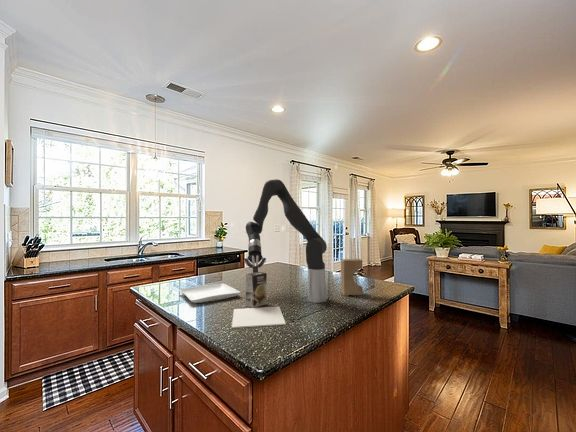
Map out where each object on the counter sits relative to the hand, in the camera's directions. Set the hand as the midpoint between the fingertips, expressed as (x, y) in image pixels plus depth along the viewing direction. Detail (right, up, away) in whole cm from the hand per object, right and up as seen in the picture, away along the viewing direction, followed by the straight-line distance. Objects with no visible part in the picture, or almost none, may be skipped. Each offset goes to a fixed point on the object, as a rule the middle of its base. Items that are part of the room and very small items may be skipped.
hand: (255, 273), depth 151 cm
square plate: (-27, -15, +6) cm, 32 cm away
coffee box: (+2, -14, -11) cm, 18 cm away
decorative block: (+55, -14, +8) cm, 57 cm away
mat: (+4, -14, -28) cm, 31 cm away
